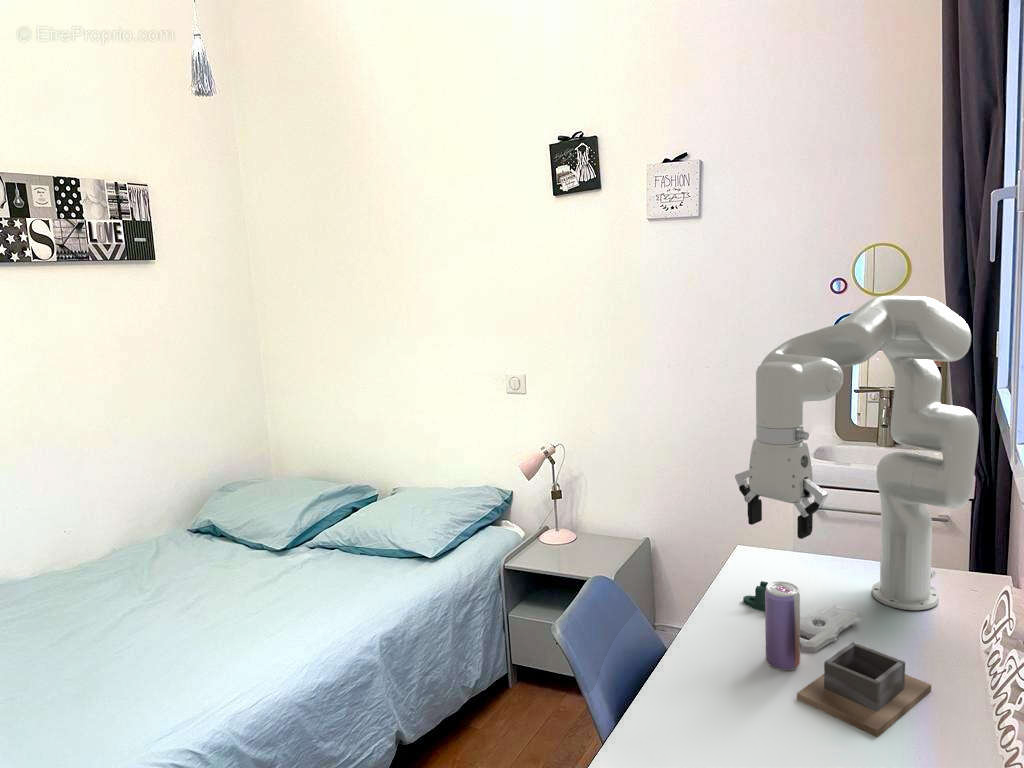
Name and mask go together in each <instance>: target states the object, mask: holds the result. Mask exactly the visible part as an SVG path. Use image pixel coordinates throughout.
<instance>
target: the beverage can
mask: <svg viewBox="0 0 1024 768" xmlns="http://www.w3.org/2000/svg"><path fill="white" fill-rule="evenodd" d="M799 589H800V588H799V587H797V585H795V584H794V583H792V582H791V583H790V582H788V581H773V582H770V583H768V585H767V586H766V591H765V611H764V615H765V619H764V621H765V624H764V625H765V626H764V627H765V660H766V661H765V662H767V664H768V665H769V666H770V668H772V669H774V670H778V671H782V672H790V671H793V670H796V669H797V668H798V667H799V665H800V663H801V646H800V638H801V637H800V636H801V634H800V617H801V610H800V609H801V604H800V603H801V599H800V598H801V596H800V592H799V591H800V590H799Z"/></svg>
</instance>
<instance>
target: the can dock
mask: <svg viewBox="0 0 1024 768" xmlns="http://www.w3.org/2000/svg"><path fill="white" fill-rule="evenodd" d="M823 664H824V665H823V669H824V670H823V672H824V673H823V674H822V675H820V676H819V677H817V678H816V679H814V680H813V681H812V682H810V683H809V684H807V685H806V686H804V687H803V688H802V689H801V690H799V691H797V693H796V700H797V701H800V702H802V703H804V704H807V705H808V706H810V707H813V709H814V708H815V709H817V710H818V711H820V712H822V713H825V714H828V715H830V716H832V717H833V718H836V719H838V720H840V721H843V722H845V723H847V724H849V725H850V726H853V727H855V728H857V729H860V730H861V731H864V732H866V733H868V734H870V735H872V736H874V737H876V738H878V737H879V736H881V735H882V734H883V733H884V732H885V731H886V730H887V729H888V728H890V727H891V726H892V725H894V724H895V723H896V722H897V721H898V720H899V719H901V718H902V717H903V716H904V715H905V714H906V713H907V712H909V711H910V710H911V709H913V708H914V706H916V705H917V704H918V703H919V702H920V701H921V700H923V699H924V697H926V696H927V695H928V694H929V693H931V692H932V683H928V682H926V681H923V680H921V679H918V678H916V677H913V676H912V675H911V676H910V675H908V674H906V662H905V661H903V660H901V659H898V658H895V657H893V656H890V655H887V654H886V653H882V652H879V651H877V650H874V649H872V648H870V647H867V646H864V645H861V644H858V643H856V642H854V641H853V642H851V643H849V644H848V645H846V646H845V647H843V648H842V649H841V650H839V651H838V652H836V653H835V654H833V655H832V656H830V657H829V658H828V659H826V660H824V662H823Z"/></svg>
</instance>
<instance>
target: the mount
mask: <svg viewBox="0 0 1024 768" xmlns="http://www.w3.org/2000/svg"><path fill="white" fill-rule="evenodd" d="M759 583H760V584H759V585H756V587H755V590H754V591H755V592H754V593H755V594H754V595H746V596H745V595H744V596H743V598H742V600H743V601H742V602H744V603H745V604H746V605H745V604H744V603H743V604H744V605H745V606H747V605H748V606H747V607H749V606H750V608H751V607H752V608H751V609H754V610H756V611H757V610H758V611H761V612H765V591H766V586H767V585H768V584H769V583H768V582H767V581H763V580H761V581H760V582H759Z"/></svg>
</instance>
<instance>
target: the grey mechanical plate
mask: <svg viewBox="0 0 1024 768" xmlns="http://www.w3.org/2000/svg"><path fill="white" fill-rule="evenodd" d="M859 622H861V618H860V615H859V613H857V612H853V611H848V610H846V609H842V608H840V607H839V606H837V605H835V604H834V605H832V606H830V607H829V608H827V609H826V610H825V611H822V610H821V611H818V612H817V613H815V614H811V615H810V614H809V615H808V616H805V617H803V616H800V636H804V637H806V638H807V639H806V638H802V637H800V652H808V653H810V652H811V653H817V652H818V651H820V650H822V648H824V647H826V646H827V645H828V644H830V643H833V642H835V641H838V639H839V638H838V636H839V635H840V633H841V632H842V631H844V630H846V629H847V628H849V627H850V626H852V625H853V624H857V623H859Z"/></svg>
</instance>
